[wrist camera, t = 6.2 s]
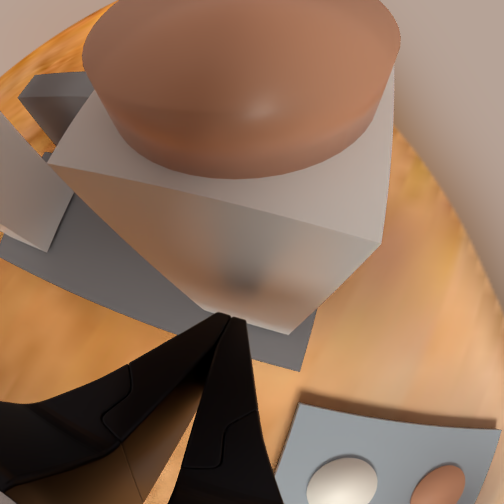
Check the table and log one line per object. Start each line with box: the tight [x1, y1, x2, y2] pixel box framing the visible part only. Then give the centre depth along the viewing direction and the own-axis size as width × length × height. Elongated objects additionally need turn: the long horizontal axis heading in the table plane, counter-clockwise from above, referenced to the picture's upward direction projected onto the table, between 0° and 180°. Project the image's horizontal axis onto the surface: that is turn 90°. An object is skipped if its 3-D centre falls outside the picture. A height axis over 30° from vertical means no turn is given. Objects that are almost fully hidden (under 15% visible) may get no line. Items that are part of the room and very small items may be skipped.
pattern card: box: [274, 402, 501, 504], centre depth 12 cm, size 8×13×1 cm, turn 73°
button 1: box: [47, 0, 401, 335], centre depth 9 cm, size 4×4×13 cm
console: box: [0, 72, 317, 372], centre depth 15 cm, size 11×20×6 cm, turn 73°
